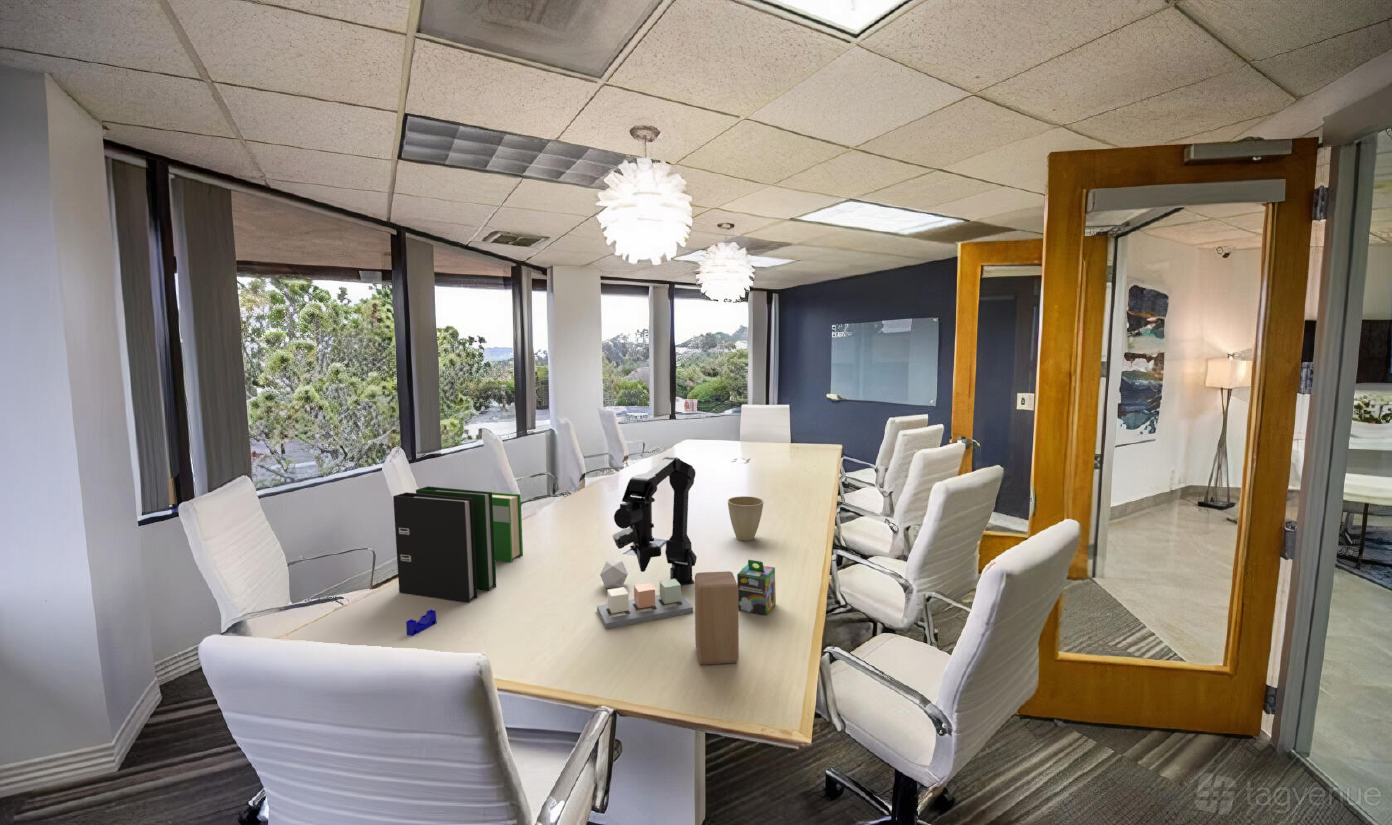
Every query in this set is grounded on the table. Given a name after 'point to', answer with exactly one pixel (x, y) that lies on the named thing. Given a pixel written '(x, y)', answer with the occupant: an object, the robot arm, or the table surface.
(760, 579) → the chalk box
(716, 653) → the block
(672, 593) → the plunger sage
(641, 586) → the salmon pink cube
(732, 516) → the plant pot
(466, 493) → the ring binders
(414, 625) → the cable holder
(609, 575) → the die
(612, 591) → the plunger cream
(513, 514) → the hardback book
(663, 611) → the grey slotted board
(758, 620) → the table surface
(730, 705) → the table surface
